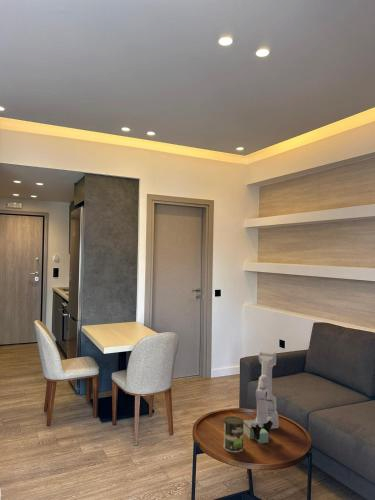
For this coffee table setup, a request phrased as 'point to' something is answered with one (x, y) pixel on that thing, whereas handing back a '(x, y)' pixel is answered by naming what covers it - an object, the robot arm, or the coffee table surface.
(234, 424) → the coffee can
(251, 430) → the housing
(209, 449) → the coffee table surface
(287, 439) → the coffee table surface
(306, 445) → the coffee table surface
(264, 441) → the end cover
